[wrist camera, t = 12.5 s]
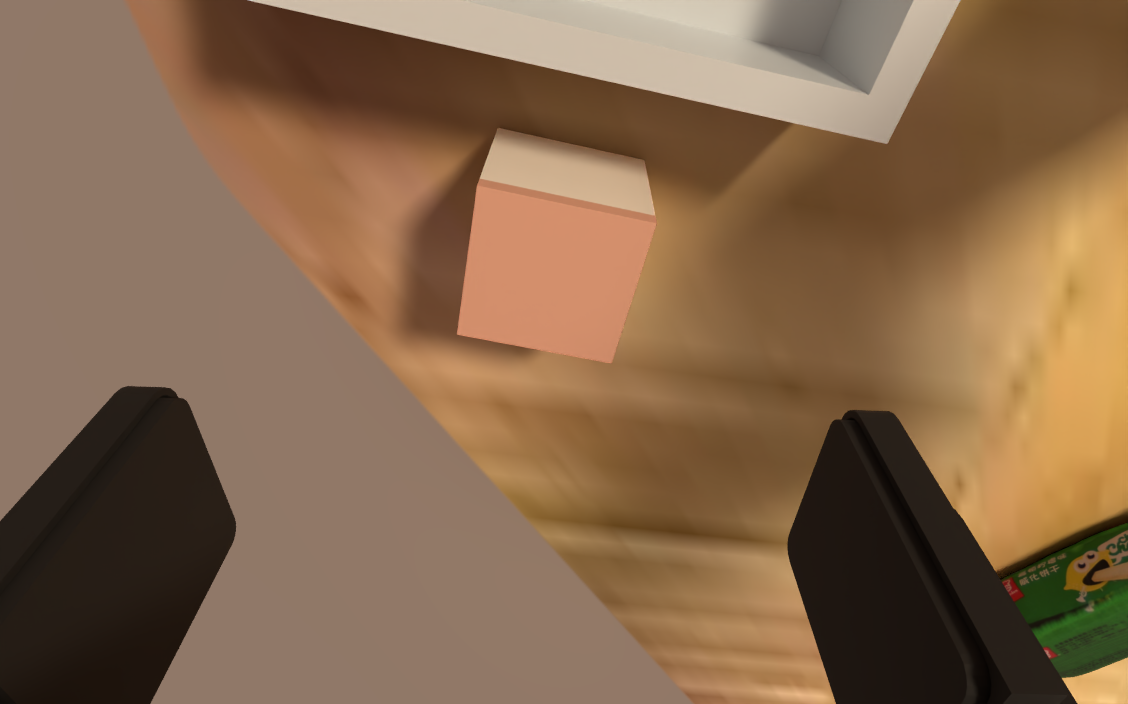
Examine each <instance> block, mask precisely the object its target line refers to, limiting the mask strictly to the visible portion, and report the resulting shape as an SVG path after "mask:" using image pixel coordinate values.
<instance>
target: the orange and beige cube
mask: <svg viewBox="0 0 1128 704" xmlns="http://www.w3.org/2000/svg"><path fill="white" fill-rule="evenodd" d="M656 225H657V221H656V216H655V211H654V206H653V201H652V196H651V191H650V186H649V181H648V176H647V171H646V166H645V161H644V160H642V159H638V158H633V157H629V156H624V155H620V154H615V153H611V152H606V151H601V150H597V149H592V148H588V147H583V146H579V145H574V144H570V143H565V142H561V141H556V140H552V139H547V138H542V137H538V136H533V135H529V134H524V133H520V132H515V131H511V130H506V129H502V128H498V129H497V132H496V134H495V137H494V140H493V143H492V145H491V148H490V151H489V154H488V157H487V159H486V162H485V165H484V168H483V171H482V173H481V176H480V179H479V182H478V184H477V190H476V197H475V205H474V212H473V219H472V227H471V234H470V242H469V249H468V256H467V264H466V271H465V278H464V286H463V293H462V300H461V308H460V315H459V322H458V330H457V335H462V336H467V337H472V338H478V339H483V340H488V341H494V342H499V343H504V344H510V345H515V346H521V347H526V348H531V349H537V350H542V351H547V352H553V353H558V354H563V355H569V356H574V357H579V358H585V359H590V360H595V361H601V362H606V363H611V364H612V361H613V358H614V355H615V351H616V348H617V345H618V342H619V339H620V336H621V333H622V330H623V327H624V324H625V321H626V318H627V314H628V311H629V308H630V305H631V302H632V299H633V296H634V293H635V290H636V287H637V284H638V280H639V277H640V274H641V271H642V268H643V265H644V262H645V259H646V256H647V253H648V250H649V247H650V243H651V240H652V237H653V234H654V231H655V228H656Z"/></svg>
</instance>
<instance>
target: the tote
mask: <svg viewBox="0 0 1128 704" xmlns="http://www.w3.org/2000/svg"><path fill="white" fill-rule="evenodd" d="M249 1H253V2H258V3H262V4H266V5H271V6H275V7H280V8H284V9H289V10H293V11H298V12H302V13H306V14H311V15H315V16H320V17H324V18H329V19H333V20H338V21H342V22H346V23H351V24H355V25H360V26H364V27H369V28H373V29H378V30H382V31H386V32H391V33H395V34H400V35H404V36H409V37H413V38H418V39H422V40H426V41H431V42H435V43H440V44H444V45H449V46H453V47H458V48H462V49H466V50H471V51H475V52H480V53H484V54H489V55H493V56H498V57H502V58H506V59H511V60H515V61H520V62H524V63H529V64H533V65H538V66H542V67H546V68H551V69H555V70H560V71H564V72H569V73H573V74H578V75H582V76H586V77H591V78H595V79H600V80H604V81H609V82H613V83H618V84H622V85H626V86H631V87H635V88H640V89H644V90H649V91H653V92H658V93H662V94H666V95H671V96H675V97H680V98H684V99H689V100H693V101H698V102H702V103H707V104H711V105H715V106H720V107H724V108H729V109H733V110H738V111H742V112H747V113H751V114H755V115H760V116H764V117H769V118H773V119H778V120H782V121H787V122H791V123H795V124H800V125H804V126H809V127H813V128H818V129H822V130H827V131H831V132H835V133H840V134H844V135H849V136H853V137H858V138H862V139H867V140H871V141H875V142H880V143H884V144H888V142H889V140H890V138H891V136H892V134H893V132H894V130H895V128H896V126H897V124H898V122H899V120H900V118H901V116H902V114H903V112H904V110H905V108H906V106H907V104H908V102H909V100H910V98H911V96H912V95H913V93H914V91H915V89H916V87H917V85H918V83H919V81H920V79H921V77H922V75H923V73H924V71H925V69H926V67H927V65H928V63H929V61H930V59H931V57H932V55H933V53H934V51H935V49H936V47H937V45H938V43H939V42H940V40H941V38H942V36H943V34H944V32H945V30H946V28H947V26H948V24H949V22H950V20H951V18H952V16H953V14H954V12H955V10H956V8H957V6H958V4H959V2H960V0H249Z"/></svg>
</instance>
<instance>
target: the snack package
mask: <svg viewBox="0 0 1128 704" xmlns="http://www.w3.org/2000/svg"><path fill="white" fill-rule="evenodd" d="M1001 581H1002V583H1003V585H1004V586H1005V588H1006V590H1007V591H1008V593H1009V594H1010V596H1011V598H1012V599H1013V601H1014V602H1015V604H1016V606H1017V607H1018V609H1019V610H1020V612H1021V614H1022V615H1023V617H1024V618H1025V620H1026V622H1027V623H1028V625H1029V627H1030V628H1031V630H1032V631H1033V633H1034V635H1035V636H1036V638H1037V639H1038V641H1039V643H1040V644H1041V646H1042V647H1043V649H1044V651H1045V652H1046V654H1047V656H1048V657H1049V659H1050V660H1051V662H1052V664H1053V665H1054V667H1055V668H1056V670H1057V672H1058V673H1059V675H1060V676H1061V678H1066V677H1075V676H1079V675H1083V674H1086V673H1089V672H1092V671H1095V670H1097V669H1100V668H1102V667H1105V666H1107V665H1110V664H1112V663H1115V662H1117V661H1120V660H1122V659H1125V658H1127V657H1128V523H1125V524H1122V525H1119V526H1117V527H1114V528H1111V529H1109V530H1106V531H1103V532H1100V533H1098V534H1096V535H1093V536H1091V537H1088V538H1086V539H1084V540H1082V541H1080V542H1078V543H1076V544H1074V545H1072V546H1069V547H1067V548H1065V549H1063V550H1060V551H1058V552H1056V553H1053V554H1051V555H1049V556H1047V557H1045V558H1043V559H1041V560H1040V561H1038V562H1036V563H1034V564H1032V565H1030V566H1028V567H1026V568H1024V569H1022V570H1020V571H1018V572H1015V573H1013V574H1011V575H1009V576H1007V577H1005V578H1004V579H1002V580H1001Z"/></svg>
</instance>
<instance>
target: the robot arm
mask: <svg viewBox="0 0 1128 704" xmlns="http://www.w3.org/2000/svg"><path fill="white" fill-rule="evenodd" d="M235 532H236V521H235V518H234V515H233V513H232V510H231V508H230V505H229V503H228V500H227V498H226V495H225V493H224V490H223V488H222V485H221V483H220V480H219V478H218V476H217V473H216V470H215V468H214V466H213V463H212V460H211V458H210V456H209V453H208V451H207V448H206V446H205V443H204V441H203V438H202V436H201V433H200V431H199V428H198V426H197V423H196V421H195V418H194V416H193V413H192V411H191V408H190V406H189V404H188V402H187V401H186V400H184V399H182V398H178V396H177V394H176V393H175V392H174V391H173V390H172V389H171V388H165V387H163V388H162V387H135V386H127V387H123V388H121V389H120V390H118V391H117V392H116V393H115V394H114V395H113V396H112V397H111V398H110V399H109V401H108V402H107V403H106V404H105V405H104V406H103V407H102V408H101V410H100V411H99V412H98V413H97V414H96V415H95V416H94V417H93V418H92V420H91V421H90V422H89V423H88V424H87V425H86V426H85V427H84V428H83V430H82V431H81V432H80V433H79V434H78V435H77V436H76V438H74V440H73V441H72V442H71V443H70V444H69V445H68V446H67V447H66V449H65V450H64V451H63V452H62V453H61V454H60V455H59V456H58V457H57V459H56V460H55V461H54V462H53V463H52V464H51V465H50V466H49V467H48V469H47V470H46V471H45V472H44V473H43V474H42V475H41V476H40V477H39V479H38V480H37V481H36V482H35V483H34V484H33V485H32V486H31V488H30V489H29V490H28V491H27V492H26V493H25V494H24V495H23V497H22V498H21V499H20V500H19V501H18V502H17V503H16V504H15V505H14V507H13V508H12V509H11V510H10V511H9V512H8V513H7V514H6V515H5V517H4V518H3V519H2V520H1V521H0V704H150V703H151V701H152V699H153V697H154V695H155V693H156V692H157V690H158V688H159V686H160V684H161V682H162V680H163V678H164V676H165V674H166V672H167V670H168V668H169V666H170V664H171V662H172V660H173V658H174V656H175V655H176V652H177V651H178V649H179V647H180V645H181V643H182V641H183V639H184V637H185V635H186V633H187V631H188V629H189V627H190V625H191V623H192V621H193V620H194V618H195V616H196V614H197V612H198V610H199V608H200V606H201V604H202V602H203V600H204V598H205V596H206V594H207V592H208V590H209V588H210V586H211V584H212V582H213V580H214V579H215V577H216V575H217V573H218V571H219V569H220V567H221V565H222V563H223V561H224V559H225V557H226V555H227V553H228V551H229V549H230V547H231V545H232V543H233V541H234V537H235ZM788 556H789V560H790V564H791V567H792V570H793V573H794V576H795V579H796V582H797V585H798V588H799V591H800V594H801V597H802V601H803V604H804V607H805V610H806V613H807V616H808V619H809V622H810V625H811V628H812V631H813V634H814V637H815V640H816V644H817V647H818V650H819V653H820V656H821V659H822V662H823V665H824V668H825V671H826V674H827V677H828V680H829V683H830V687H831V690H832V693H833V696H834V699H835V702H836V704H1077V702H1076V701H1075V699H1074V697H1073V696H1072V694H1071V693H1070V691H1069V689H1068V688H1067V686H1066V685H1065V683H1064V681H1063V680H1062V678H1061V676H1060V675H1059V673H1058V672H1057V670H1056V668H1055V667H1054V665H1053V664H1052V662H1051V660H1050V659H1049V657H1048V656H1047V654H1046V652H1045V651H1044V649H1043V647H1042V646H1041V644H1040V643H1039V641H1038V639H1037V638H1036V636H1035V635H1034V633H1033V631H1032V630H1031V628H1030V627H1029V625H1028V623H1027V622H1026V620H1025V618H1024V617H1023V615H1022V614H1021V612H1020V610H1019V609H1018V607H1017V606H1016V604H1015V602H1014V601H1013V599H1012V598H1011V596H1010V594H1009V593H1008V591H1007V590H1006V588H1005V586H1004V585H1003V583H1002V581H1001V580H1000V578H999V577H998V575H997V573H996V572H995V570H994V569H993V567H992V565H991V564H990V562H989V561H988V559H987V557H986V556H985V554H984V552H983V551H982V549H981V548H980V546H979V544H978V543H977V541H976V540H975V538H974V536H973V535H972V533H971V532H970V530H969V528H968V527H967V525H966V523H965V522H964V520H963V519H962V518H961V516H960V515H959V514H958V513H957V511H956V510H955V509H953V507H952V506H951V504H950V502H949V501H948V499H947V497H946V496H945V494H944V493H943V491H942V489H941V488H940V486H939V484H938V483H937V481H936V480H935V478H934V476H933V475H932V473H931V471H930V470H929V468H928V467H927V465H926V463H925V462H924V460H923V458H922V457H921V455H920V454H919V452H918V450H917V449H916V447H915V445H914V444H913V442H912V441H911V439H910V437H909V436H908V434H907V433H906V431H905V429H904V428H903V426H902V424H901V423H900V421H899V420H898V418H897V417H896V416H895V415H894V414H893V413H891V412H889V411H864V410H850V411H848V412H846V413H845V414H844V416H843V418H842V420H834V421H833V422H832V424H831V425H830V428H829V430H828V433H827V436H826V438H825V441H824V444H823V446H822V449H821V452H820V454H819V457H818V459H817V462H816V465H815V467H814V470H813V473H812V475H811V478H810V481H809V483H808V486H807V489H806V491H805V494H804V496H803V499H802V502H801V504H800V507H799V510H798V512H797V515H796V518H795V520H794V523H793V526H792V528H791V531H790V534H789V537H788Z"/></svg>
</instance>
